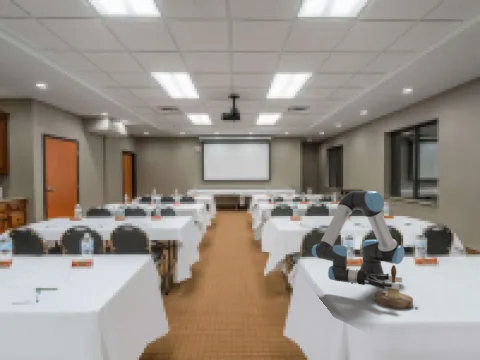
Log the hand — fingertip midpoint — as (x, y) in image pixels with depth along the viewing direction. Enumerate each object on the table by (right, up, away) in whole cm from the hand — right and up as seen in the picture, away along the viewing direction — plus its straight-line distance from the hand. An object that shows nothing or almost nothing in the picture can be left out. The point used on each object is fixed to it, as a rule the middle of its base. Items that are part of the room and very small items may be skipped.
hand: (400, 283), depth 179 cm
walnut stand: (-3, -10, +2) cm, 11 cm away
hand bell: (-3, -8, +2) cm, 8 cm away
